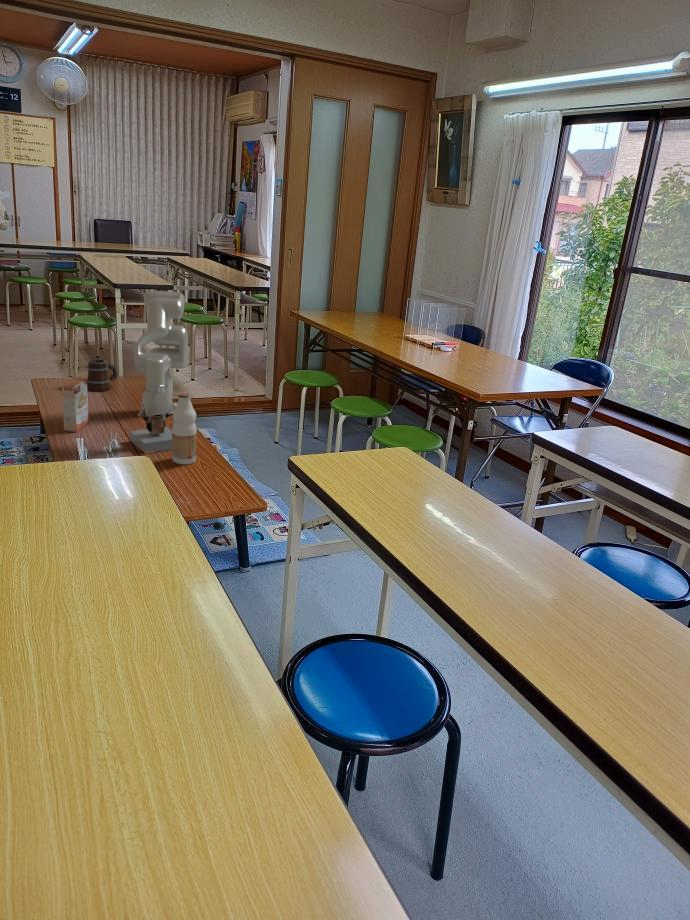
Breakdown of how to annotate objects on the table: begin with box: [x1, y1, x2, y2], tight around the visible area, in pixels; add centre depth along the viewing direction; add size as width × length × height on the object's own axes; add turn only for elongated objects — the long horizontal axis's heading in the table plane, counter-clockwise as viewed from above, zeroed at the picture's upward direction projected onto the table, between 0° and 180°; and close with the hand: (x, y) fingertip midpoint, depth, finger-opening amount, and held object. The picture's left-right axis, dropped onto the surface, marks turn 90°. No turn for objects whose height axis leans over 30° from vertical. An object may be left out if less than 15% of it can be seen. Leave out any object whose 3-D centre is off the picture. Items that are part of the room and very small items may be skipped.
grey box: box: [129, 426, 172, 452], centre depth 285 cm, size 16×16×5 cm
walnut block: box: [149, 415, 164, 434], centre depth 283 cm, size 5×5×6 cm
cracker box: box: [61, 376, 89, 433], centre depth 293 cm, size 14×6×21 cm, turn 179°
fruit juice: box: [171, 391, 197, 465], centre depth 267 cm, size 9×9×28 cm
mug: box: [86, 358, 118, 393], centre depth 351 cm, size 16×12×15 cm
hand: (155, 429), depth 283 cm, fingers closed on walnut block, 4 cm apart
